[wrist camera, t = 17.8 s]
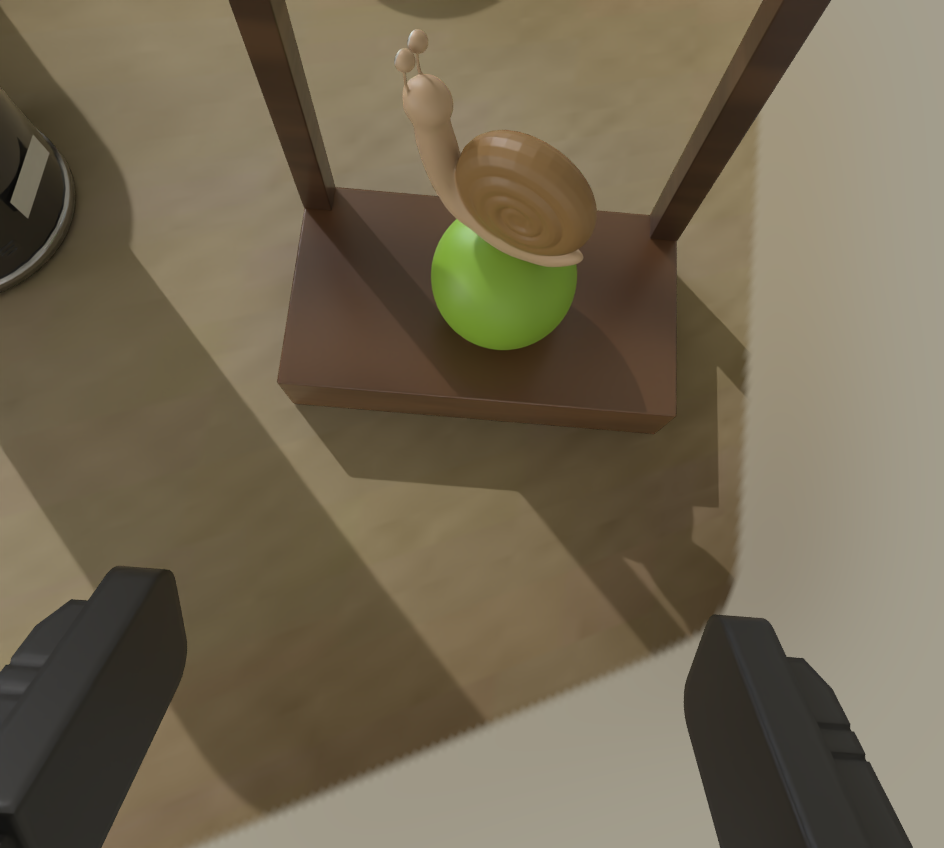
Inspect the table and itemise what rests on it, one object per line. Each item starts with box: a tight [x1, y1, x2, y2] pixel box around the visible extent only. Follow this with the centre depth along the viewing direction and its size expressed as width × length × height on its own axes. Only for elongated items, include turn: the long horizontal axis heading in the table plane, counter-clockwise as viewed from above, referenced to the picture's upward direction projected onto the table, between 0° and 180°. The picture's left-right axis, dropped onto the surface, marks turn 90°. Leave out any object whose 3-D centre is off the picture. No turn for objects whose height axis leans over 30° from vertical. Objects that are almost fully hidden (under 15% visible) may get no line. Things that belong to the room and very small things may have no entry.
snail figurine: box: [395, 29, 597, 350], centre depth 22 cm, size 5×6×12 cm
